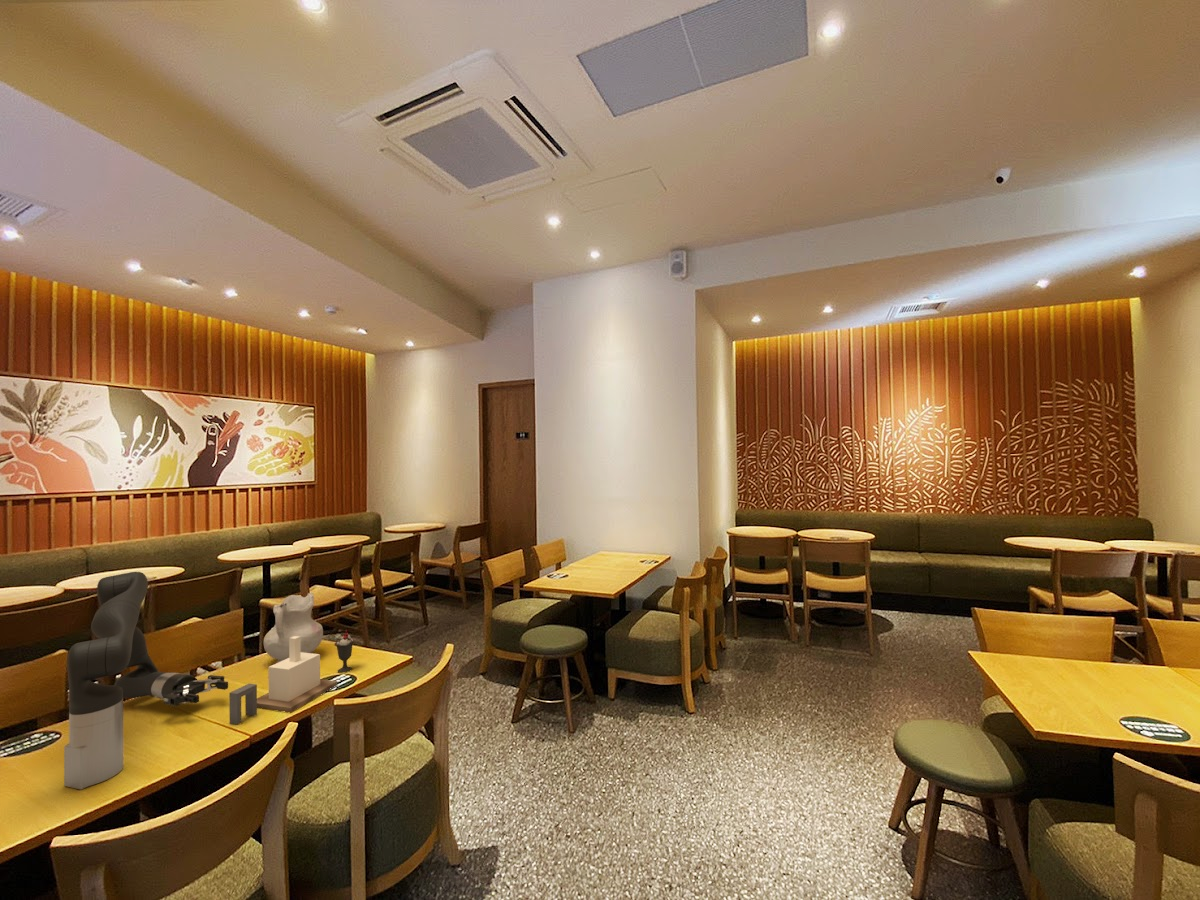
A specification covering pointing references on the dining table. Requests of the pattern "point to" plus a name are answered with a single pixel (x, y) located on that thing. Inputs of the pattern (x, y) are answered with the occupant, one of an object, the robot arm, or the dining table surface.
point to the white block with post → (294, 673)
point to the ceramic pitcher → (293, 627)
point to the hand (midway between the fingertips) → (212, 692)
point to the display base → (296, 702)
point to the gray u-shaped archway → (235, 702)
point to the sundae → (344, 650)
